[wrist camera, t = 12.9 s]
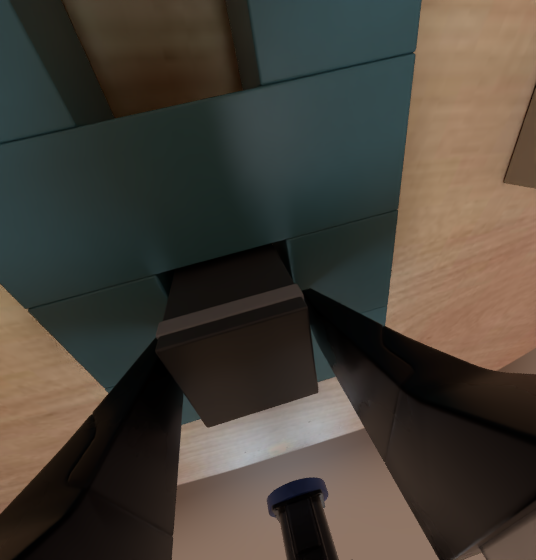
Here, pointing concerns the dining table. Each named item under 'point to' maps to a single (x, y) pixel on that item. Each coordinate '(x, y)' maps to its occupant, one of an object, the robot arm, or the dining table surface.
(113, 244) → the teal three-hole plate
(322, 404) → the dining table surface
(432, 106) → the dining table surface
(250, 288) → the block
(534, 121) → the electrical outlet
